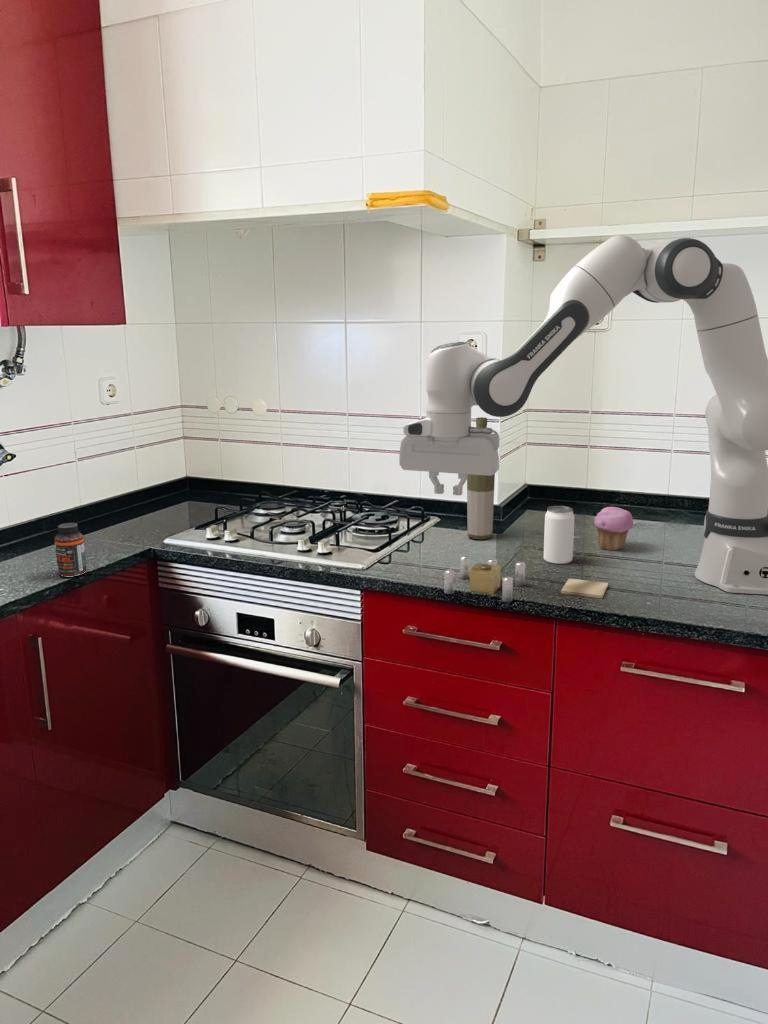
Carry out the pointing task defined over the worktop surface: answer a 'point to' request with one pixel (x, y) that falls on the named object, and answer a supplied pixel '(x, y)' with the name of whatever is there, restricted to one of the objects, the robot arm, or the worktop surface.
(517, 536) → the worktop surface
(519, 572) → the spacer posts
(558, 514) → the can
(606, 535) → the cupcake
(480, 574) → the cube with brass knob
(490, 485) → the bottle
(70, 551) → the supplement bottle
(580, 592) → the coaster
